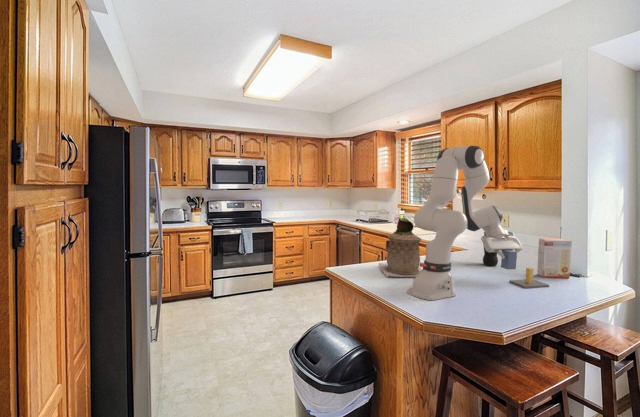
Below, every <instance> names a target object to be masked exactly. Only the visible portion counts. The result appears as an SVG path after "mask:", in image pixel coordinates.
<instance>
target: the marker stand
mask: <svg viewBox="0 0 640 417" xmlns="http://www.w3.org/2000/svg"><path fill="white" fill-rule="evenodd" d="M534 269H535V268H533V267H526V268H525V279H523V278H522V279H509V283H511V284H514V285H515V286H519V287H521V288H523V289H537V288H549V287H550V284H548V283H546V282H542V281H539V280H537V279H534Z"/></svg>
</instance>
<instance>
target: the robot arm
mask: <svg viewBox="0 0 640 417" xmlns="http://www.w3.org/2000/svg"><path fill="white" fill-rule="evenodd" d="M436 160H437V162H436V164H435V167H434V171H433V176H432V181H431V187H430V192H429V196H428V198H427V200H426V202H425V203H424V204H423V205H422V207H420V208H418V210H416V212H415V213H414V216H413V224H414V225H415V227H417V228H419V229H421V230H423V231H428V232H433V233H435V238H434V239H431V240H429V241H428V242H427V243H426V246H425V256H424V258H425V259H424V261H423V262H420V264H419V268H421V269H422V271H421V272H420V273H419V274H418V275H417V276H416V277H414V278H413V282H412V287H410V288H408V289H406V290H407V291H406V292H407V294H409V295H411V296H413V297H416V298H419V299H421V300H426V301H437V300H443V299H447V298H452V297H456V295H457V294H456V292H455V291H454V278H453V275H452V273H451V270H452V262H451V256H452V247H453V243H454V241H455V240H456V239H457V237H458V236H460V235H461V234H463V233H464V232H465V230H468V231H470V232H477V231H479V230H481V229H482V230H483V231H485V234H486V236H484V235H482V236H481V237H480V240H481V242H482V245H483V249H484V248H485V250H486V251H487V252H497V256H500V257H501V260H502V259H506V258H507V256H506V255H505V254H503V253H502V250H512V251H516V252H517V253H519V252H521V251H522V250H523V245H522V243H521V242H520V240H519V239H518V237H516V234H515V233H514V232H513V231H509V230H507V229H505V228H503V226H501V223H502V221H503V214H502V211H501V210H500V209H499V207H497V206H495V205H490V206H487V207H483V208H480V209H477V210H474V211H473V204H472V203H473V202H472V201H473V198H474V197H475V196H476V195H478V193H480V192H481V191H482V190H484V189H485V188H486V187H487V185H488V183H489V182H490V171H489V169H488V166H487V162H486V161H485V152H484V150H483V149H482V148H481V147H480V146H478V145H465V146H459V145H458V146H454V147H446V148H443V149H441V150H440V152H439V153H438V155H437V157H436ZM459 170H460V171H461V170H462V171H463V176H464V184H463V186H461V189H460V190H461V191H460V193H461V203H462V204H461V205H462V212H461V211H458V210H453V209H446V208H445V206H446V205H447V204H448V203H449V202H451V201H453V200H454V199H455V198H456V196H457V188H458V181H459V172H460V171H459ZM444 208H445V209H444Z"/></svg>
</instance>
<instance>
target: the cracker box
mask: <svg viewBox="0 0 640 417" xmlns="http://www.w3.org/2000/svg"><path fill="white" fill-rule="evenodd" d="M572 242H573V241H572V240H571V239H567V238H538V251H537V252H538V253H537V268H536V269H537V271H536V273H537V276H540V277H542V278H555V279H556V278H557V279H559V278H560V279H561V278H562V279H570V275H571V262H572V259H571V258H572Z"/></svg>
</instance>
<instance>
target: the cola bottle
mask: <svg viewBox="0 0 640 417" xmlns="http://www.w3.org/2000/svg"><path fill="white" fill-rule="evenodd" d="M483 231H484V230H483ZM483 236H486V234H485V231H484V232H483ZM483 251H484V252H483V253H484V254H483V257H482V263H483V265H484V266H487V267H496V266H497V265H498V263H499V258H498V254H497V252H487V251H486V250H485V248H484V247H483Z"/></svg>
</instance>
